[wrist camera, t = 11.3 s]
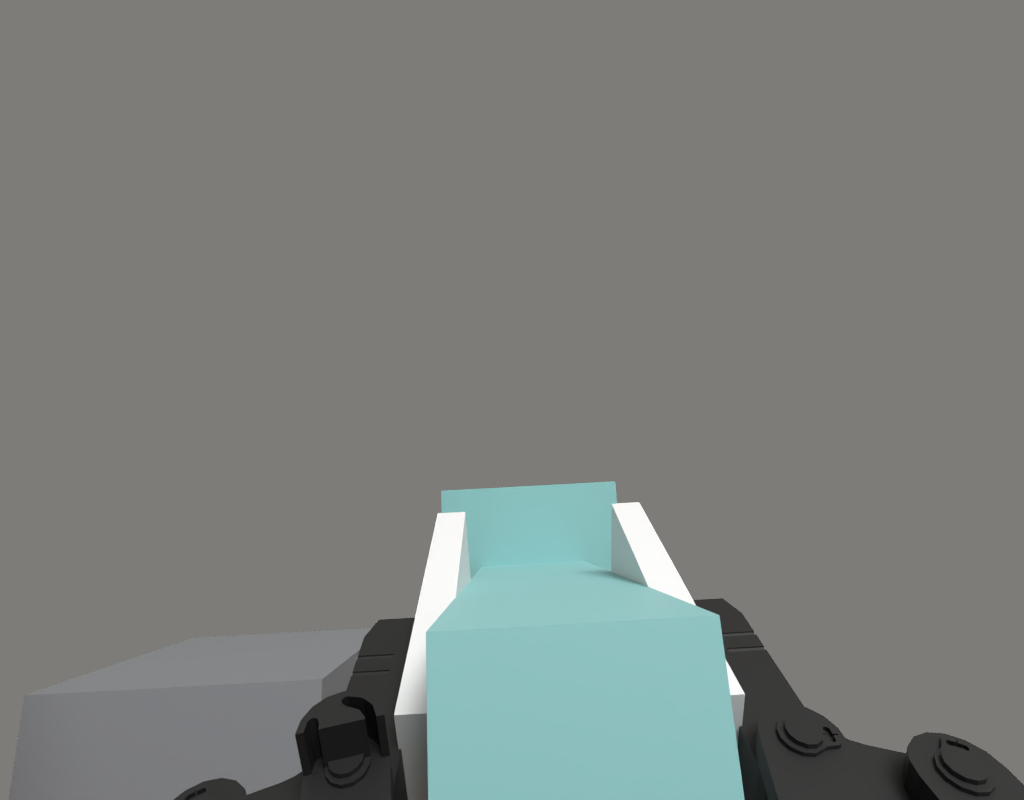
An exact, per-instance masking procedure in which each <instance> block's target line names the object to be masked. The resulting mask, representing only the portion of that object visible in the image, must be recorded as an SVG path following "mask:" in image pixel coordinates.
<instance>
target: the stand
mask: <svg viewBox="0 0 1024 800" xmlns="http://www.w3.org/2000/svg"><path fill="white" fill-rule="evenodd" d="M371 629H372V628H364V629H345V630H327V631H307V632H289V633H271V634H251V635H232V636H213V637H195V638H191V639H189V640H186V641H183V642H180V643H177V644H174V645H171V646H168V647H165V648H162V649H159V650H156V651H153V652H150V653H147V654H145V655H142V656H139V657H136V658H133V659H130V660H127V661H124V662H121V663H118V664H115V665H112V666H109V667H106V668H103V669H100V670H97V671H94V672H92V673H89V674H86V675H83V676H80V677H77V678H74V679H71V680H68V681H65V682H62V683H59V684H56V685H54V686H50V687H47V688H44V689H42V690H39V691H36V692H33V693H30V694H27V695H25V696H24V700H23V707H22V714H21V720H20V728H19V734H18V741H17V748H16V754H15V761H14V768H13V774H12V781H11V788H10V794H9V800H174V799H175V798H176V797H178V796H179V795H180V794H181V793H183V792H184V791H185V790H187V789H189V788H191V787H193V786H195V785H197V784H199V783H201V782H203V781H208V780H213V779H218V778H226V779H231V780H236V781H237V782H238V783H239V784H240V785H242V786H243V787H244V788H245V790H246V794H247V795H248V794H251V793H253V792H256V791H259V790H262V789H264V788H267V787H270V786H273V785H276V784H278V783H281V782H283V781H285V780H288V779H290V778H292V777H294V776H296V775H297V774H299V773H300V772H302V767H301V762H300V757H299V752H298V747H297V743H296V738H295V733H296V731H297V728H298V726H299V723H300V721H301V719H302V718H303V717H304V716H305V715H306V714H307V712H308V711H309V710H310V709H311V708H312V707H313V706H314V705H316V704H317V703H319V702H320V701H322V700H323V699H325V698H326V697H329V696H331V695H334V694H337V693H340V692H343V691H346V690H347V687H348V684H349V681H350V678H351V676H352V674H353V669H354V666H355V663H356V660H358V654H359V651H360V648H361V645H362V642H363V639H364V637H365V635H366V634H367V633H368V632H369V631H370V630H371Z"/></svg>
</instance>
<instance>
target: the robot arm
mask: <svg viewBox="0 0 1024 800" xmlns="http://www.w3.org/2000/svg"><path fill="white" fill-rule="evenodd" d="M611 572H612V573H615V574H617V575H620V576H622V577H625V578H627V579H630V580H632V581H635V582H637V583H640V584H642V585H645V586H647V587H650V588H653V589H655V590H658V591H660V592H663V593H665V594H668V595H670V596H673V597H675V598H678V599H680V600H683V601H685V602H688V603H690V604H693V605H695V606H698V607H700V608H703V609H705V610H708V611H710V612H713V613H715V614H718V615H719V616H720V623H721V630H722V637H723V645H724V652H725V659H726V667H727V674H728V681H729V689H730V696H731V703H732V711H733V718H734V725H735V733H736V740H737V747H738V755H739V762H740V769H741V776H742V784H743V791H744V798H745V800H1024V785H1023V784H1022V783H1021V782H1020V781H1019V780H1018V779H1017V778H1016V777H1015V776H1014V775H1013V774H1012V773H1011V772H1010V771H1009V770H1008V769H1007V768H1006V767H1005V766H1003V765H1002V764H1001V763H999V762H998V761H997V760H996V759H994V758H993V757H992V756H991V755H990V754H988V753H987V752H986V751H984V750H982V749H980V748H978V747H976V746H975V745H973V744H971V743H969V742H967V741H965V740H962V739H959V738H956V737H953V736H950V735H947V734H942V733H927V732H926V733H923V734H920V735H917V736H914V737H913V739H912V740H911V742H910V743H909V745H908V747H907V752H906V754H905V753H901V752H896V751H892V750H887V749H882V748H877V747H873V746H868V745H864V744H861V743H858V742H854V741H850V740H848V739H846V738H845V737H844V736H843V734H842V733H841V732H840V730H839V729H838V728H837V727H836V726H835V725H833V724H832V723H831V722H830V721H829V720H828V719H826V718H825V717H824V716H822V715H820V714H818V713H816V712H814V711H812V710H810V709H808V708H806V707H804V706H803V704H802V703H801V701H800V700H799V698H798V697H797V695H796V694H795V692H794V691H793V689H792V688H791V686H790V685H789V683H788V682H787V680H786V679H785V677H784V676H783V674H782V673H781V671H780V670H779V668H778V667H777V665H776V664H775V663H774V661H773V659H772V658H771V656H770V655H769V653H768V652H767V650H764V646H763V645H762V643H761V641H760V640H759V638H758V637H757V635H754V631H753V629H752V628H751V626H750V625H749V623H748V622H747V620H746V619H745V617H744V616H743V614H742V613H741V612H739V611H738V610H737V609H736V608H734V607H733V606H732V605H730V604H729V603H728V602H726V601H725V600H724V599H706V600H693V599H692V597H691V595H690V594H689V592H688V590H687V588H686V587H685V585H684V583H683V581H682V579H681V577H680V575H679V574H678V572H677V570H676V568H675V566H674V565H673V563H672V561H671V559H670V557H669V556H668V554H667V552H666V550H665V548H664V547H663V545H662V543H661V541H660V539H659V538H658V536H657V534H656V532H655V530H654V528H653V527H652V525H651V523H650V521H649V519H648V518H647V516H646V514H645V512H644V510H643V508H642V507H641V505H640V503H639V502H635V503H617V504H612V532H611ZM470 580H471V576H470V563H469V550H468V537H467V525H466V512H453V513H438V515H437V519H436V524H435V529H434V533H433V538H432V542H431V547H430V552H429V556H428V561H427V566H426V570H425V575H424V580H423V584H422V588H421V593H420V598H419V602H418V607H417V611H416V616H415V618H403V619H385V620H379V621H378V622H377V623H376V624H375V625H374V626H373V627H372V629H371V630H370V631H369V632H368V633H367V634H366V635H365V637H364V639H363V642H362V645H361V648H360V651H359V654H358V660H356V663H355V666H354V669H353V674H352V676H351V678H350V681H349V684H348V687H347V690H346V691H343V692H340V693H337V694H334V695H331V696H329V697H326V698H325V699H323V700H322V701H320V702H319V703H317V704H316V705H314V706H313V707H312V708H311V709H310V710H309V711H308V712H307V714H306V715H305V716H304V717H303V718H302V719H301V721H300V723H299V726H298V728H297V731H296V733H295V738H296V743H297V747H298V752H299V757H300V762H301V767H302V772H300V773H299V774H297V775H296V776H294V777H292V778H290V779H288V780H285V781H283V782H281V783H278V784H276V785H273V786H270V787H267V788H264V789H262V790H259V791H256V792H253V793H251V794H248V795H247V794H246V790H245V788H244V787H243V786H242V785H240V784H239V783H238V782H237V781H236V780H231V779H226V778H218V779H213V780H208V781H203V782H201V783H199V784H197V785H195V786H193V787H191V788H189V789H187V790H185V791H184V792H183V793H181V794H180V795H179V796H178V797H176V798H175V799H174V800H428V752H427V682H426V631H427V630H428V629H429V628H430V627H431V625H432V624H433V623H434V622H435V621H436V620H437V618H438V617H439V616H440V615H441V614H442V613H443V611H444V610H445V609H446V608H447V607H448V606H449V604H450V603H451V602H452V601H453V600H454V599H455V598H456V597H457V596H458V595H459V593H460V592H461V591H462V590H463V589H464V587H465V586H466V585H467V584H468V583H469V581H470Z"/></svg>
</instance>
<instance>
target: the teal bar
mask: <svg viewBox="0 0 1024 800" xmlns="http://www.w3.org/2000/svg"><path fill="white" fill-rule="evenodd" d="M441 493H442V494H441V498H442V513H453V512H466V525H467V537H468V550H469V563H470V576H471V580H470V581H469V583H468V584H467V585H466V586H465V587H464V589H463V590H462V591H461V592H460V593H459V595H458V596H457V597H456V598H455V599H454V600H453V601H452V602H451V603H450V604H449V606H448V607H447V608H446V609H445V610H444V611H443V613H442V614H441V615H440V616H439V617H438V618H437V620H436V621H435V622H434V623H433V624H432V625H431V627H430V628H429V629H428V630H427V631H426V682H427V752H428V800H745V798H744V791H743V784H742V776H741V769H740V762H739V755H738V747H737V740H736V733H735V725H734V718H733V711H732V703H731V696H730V689H729V681H728V674H727V667H726V659H725V652H724V645H723V637H722V630H721V623H720V616H719V615H718V614H715V613H713V612H710V611H708V610H705V609H703V608H700V607H698V606H695V605H693V604H690V603H688V602H685V601H683V600H680V599H678V598H675V597H673V596H670V595H668V594H665V593H663V592H660V591H658V590H655V589H653V588H650V587H647V586H645V585H642V584H640V583H637V582H635V581H632V580H630V579H627V578H625V577H622V576H620V575H617V574H615V573H612V572H611V532H612V504H617V497H616V487H615V482H598V483H579V484H561V485H543V486H524V487H505V488H487V489H468V490H450V491H441Z"/></svg>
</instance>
